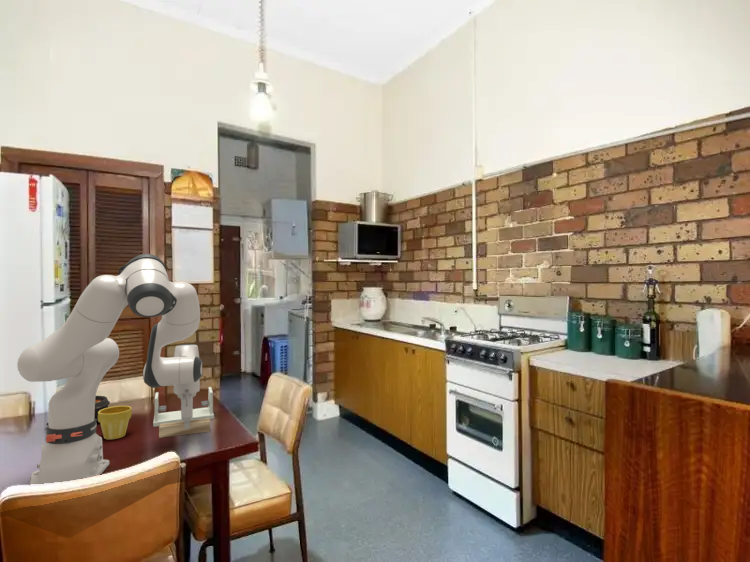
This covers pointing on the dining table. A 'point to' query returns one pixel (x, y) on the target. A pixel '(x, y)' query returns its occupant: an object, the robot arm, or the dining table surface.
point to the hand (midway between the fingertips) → (186, 424)
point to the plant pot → (114, 421)
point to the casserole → (99, 405)
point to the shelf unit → (176, 415)
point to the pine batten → (178, 428)
